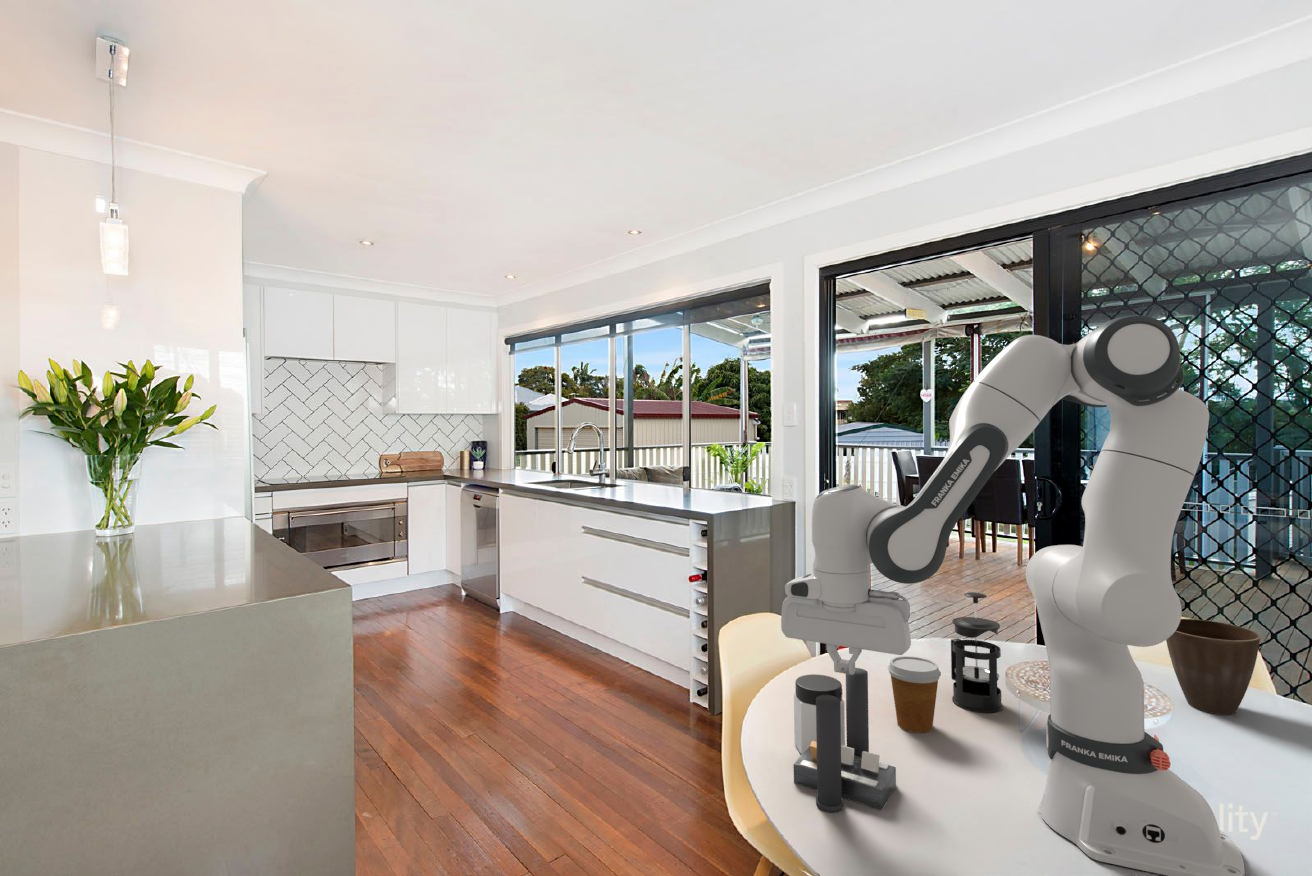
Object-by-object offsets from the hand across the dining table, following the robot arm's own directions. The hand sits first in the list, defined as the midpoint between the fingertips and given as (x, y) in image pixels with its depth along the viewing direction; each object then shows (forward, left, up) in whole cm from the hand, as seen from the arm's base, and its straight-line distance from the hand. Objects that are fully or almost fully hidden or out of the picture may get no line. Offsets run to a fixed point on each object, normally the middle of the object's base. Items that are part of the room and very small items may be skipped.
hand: (844, 672), depth 102 cm
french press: (-12, -46, -18) cm, 51 cm away
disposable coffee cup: (-4, -28, -18) cm, 34 cm away
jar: (+8, -9, -18) cm, 22 cm away
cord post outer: (0, +7, -18) cm, 19 cm away
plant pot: (-52, -69, -18) cm, 88 cm away
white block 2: (-4, 0, -15) cm, 15 cm away
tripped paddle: (+4, 0, -15) cm, 16 cm away
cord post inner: (0, -7, -18) cm, 19 cm away
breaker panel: (0, 0, -18) cm, 18 cm away
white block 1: (0, 0, -15) cm, 15 cm away
